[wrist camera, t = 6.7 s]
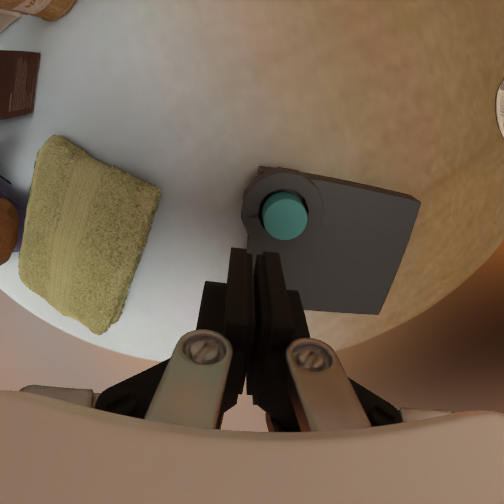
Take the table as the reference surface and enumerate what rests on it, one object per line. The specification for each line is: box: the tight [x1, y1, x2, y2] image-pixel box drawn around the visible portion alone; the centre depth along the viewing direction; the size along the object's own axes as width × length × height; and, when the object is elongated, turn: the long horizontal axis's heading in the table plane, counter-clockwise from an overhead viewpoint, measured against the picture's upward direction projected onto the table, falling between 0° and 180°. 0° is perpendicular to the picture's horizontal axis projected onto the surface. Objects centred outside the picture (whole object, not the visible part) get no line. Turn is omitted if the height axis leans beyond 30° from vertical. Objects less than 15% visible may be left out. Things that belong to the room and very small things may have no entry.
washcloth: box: [18, 135, 161, 335], centre depth 24 cm, size 13×18×3 cm
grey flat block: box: [241, 166, 421, 315], centre depth 25 cm, size 15×12×4 cm
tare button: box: [262, 192, 308, 240], centre depth 21 cm, size 3×3×2 cm
